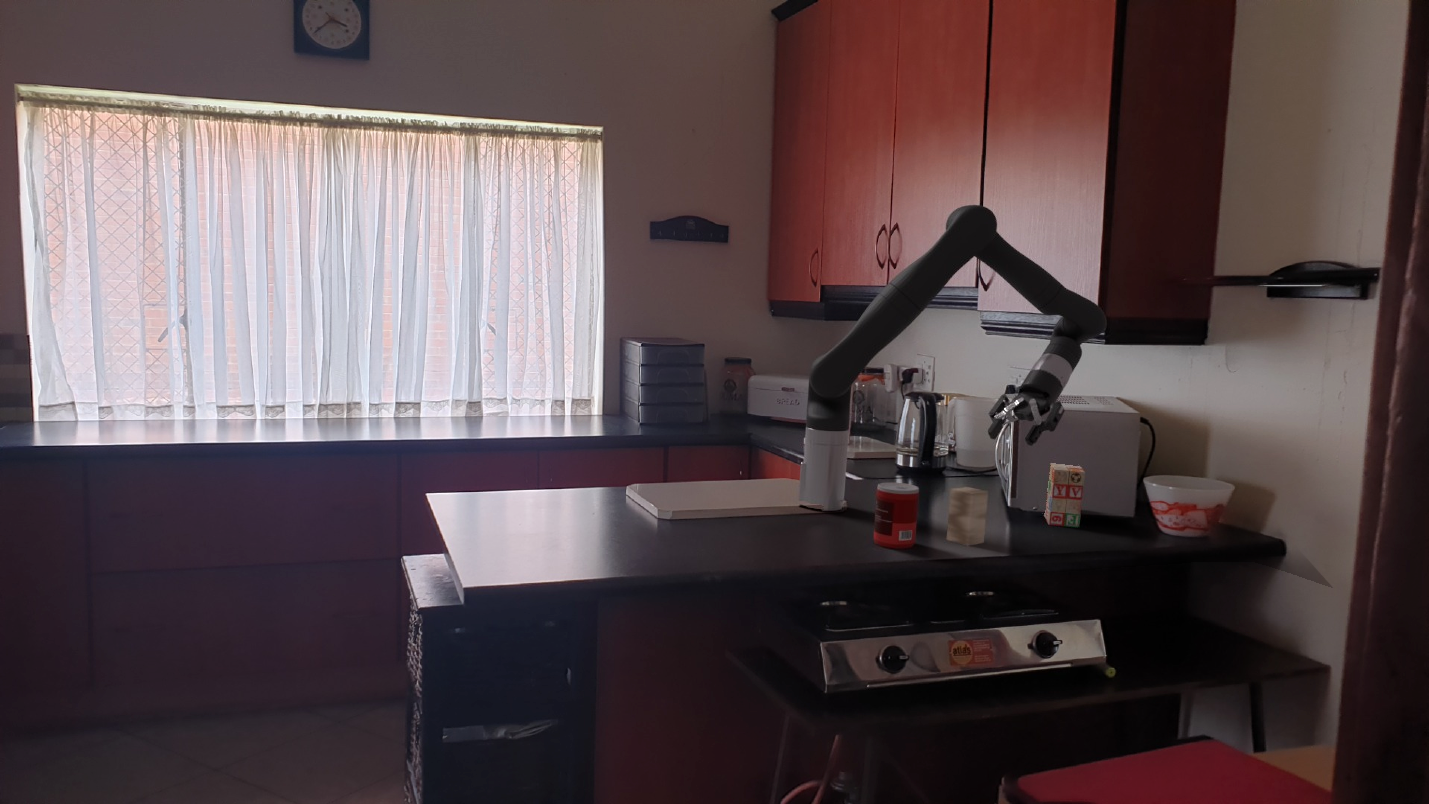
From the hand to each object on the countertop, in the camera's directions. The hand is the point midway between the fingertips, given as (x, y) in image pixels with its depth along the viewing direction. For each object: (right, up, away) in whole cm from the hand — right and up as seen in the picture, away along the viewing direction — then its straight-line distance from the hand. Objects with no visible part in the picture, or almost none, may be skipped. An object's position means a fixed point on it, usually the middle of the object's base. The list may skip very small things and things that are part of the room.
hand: (1009, 439), depth 197 cm
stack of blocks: (+17, -18, +23) cm, 34 cm away
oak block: (-10, -19, -5) cm, 22 cm away
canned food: (-25, -19, -10) cm, 33 cm away
